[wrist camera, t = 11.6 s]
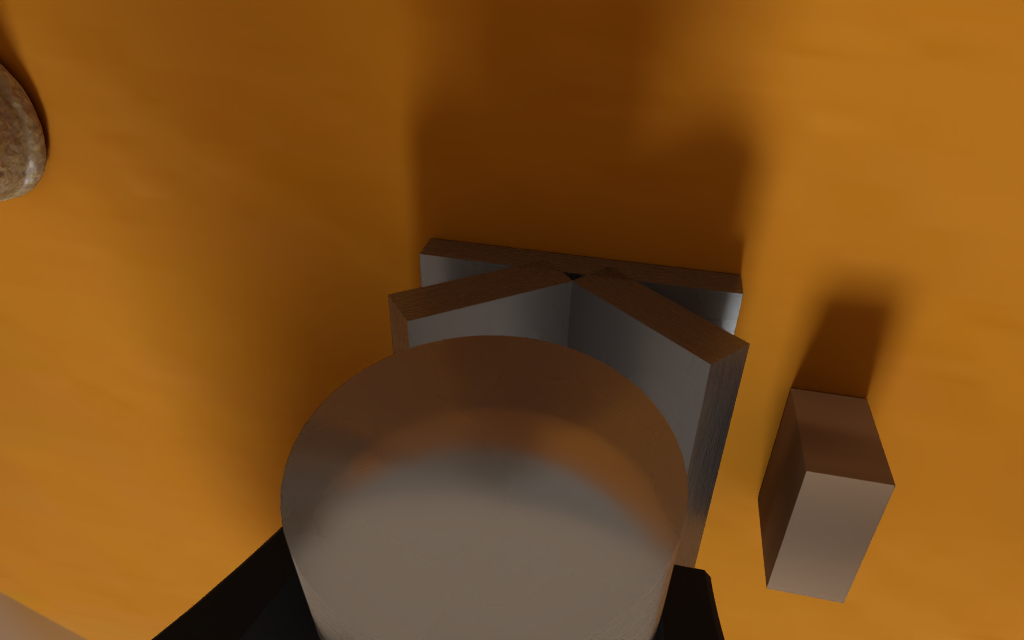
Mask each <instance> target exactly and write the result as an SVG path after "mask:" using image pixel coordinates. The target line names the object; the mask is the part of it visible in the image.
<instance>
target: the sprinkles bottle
mask: <svg viewBox="0 0 1024 640" xmlns="http://www.w3.org/2000/svg"><path fill="white" fill-rule="evenodd" d="M46 159H47V158H46V146H45V139H44V134H43V131H42V126H41V124H40V121H39V119H38V117H37V114H36V111H35V109H34V107H33V105H32V103H31V101H30V99H29V98H28V96H27V94H26V93H25V91H24V89H23V88H22V87H21V85H20V84H19V83H18V82H17V81H16V80H15V78H14V77H13V76H12V75H11V74H10V73H9V72H8V71H7V70H6V69H5V68H4V67H3V65H1V64H0V201H4V200H8V199H12V198H15V197H20V196H23V195H25V194H26V193H28V192H29V191H30V190H32V189H33V188H34V187H35V186H36V185H37V183H38V182H39V180H40V179H41V177H42V175H43V173H44V171H45V165H46Z"/></svg>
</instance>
